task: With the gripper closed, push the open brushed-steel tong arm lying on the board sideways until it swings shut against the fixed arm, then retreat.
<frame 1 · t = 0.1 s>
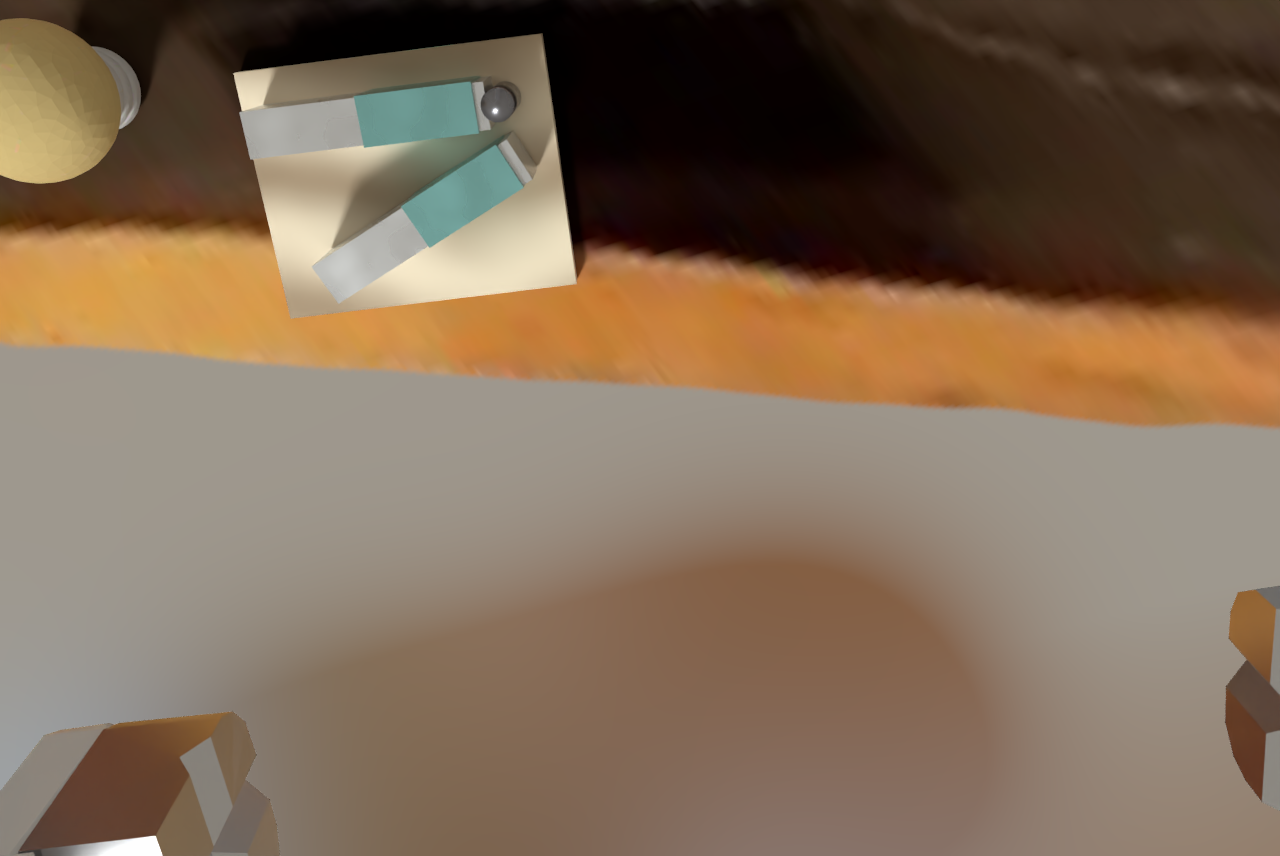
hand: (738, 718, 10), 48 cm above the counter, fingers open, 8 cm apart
tongs fixed arm: (505, 97, 53), resting on board
tong arm: (426, 216, 53), point 3 cm above the counter, hinge at 25.0°
light bulb: (106, 88, 54), on the counter
board: (414, 178, 55), on the counter
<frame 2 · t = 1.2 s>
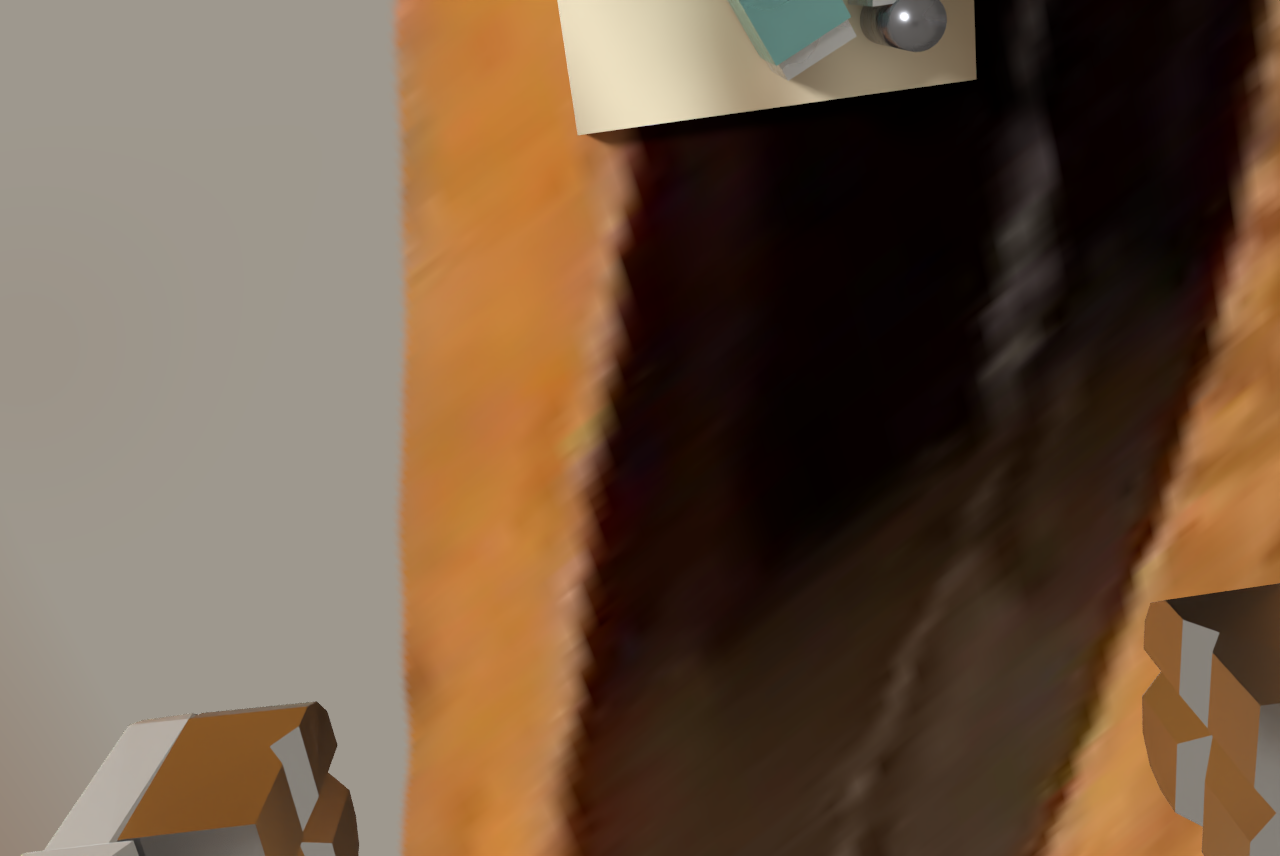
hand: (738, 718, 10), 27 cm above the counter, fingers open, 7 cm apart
tongs fixed arm: (884, 18, 33), resting on board
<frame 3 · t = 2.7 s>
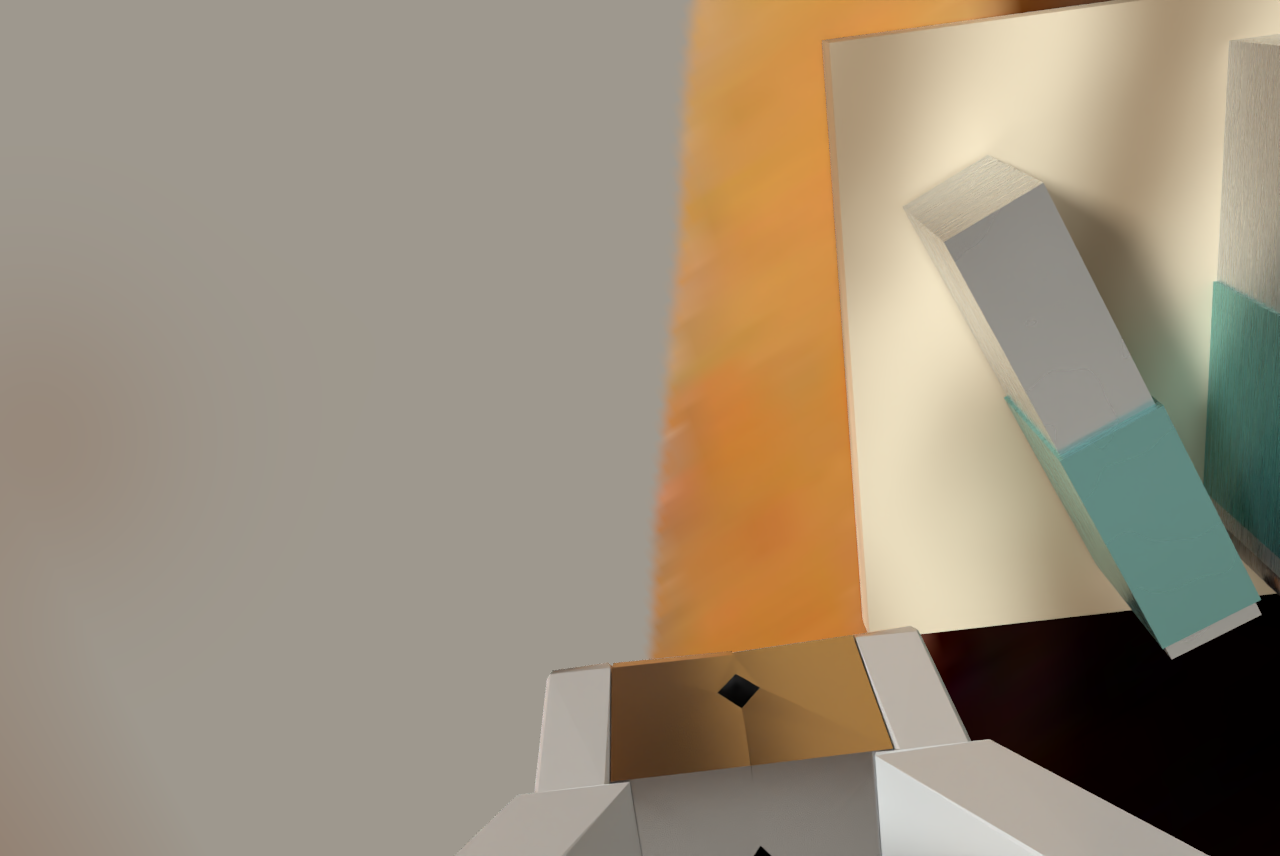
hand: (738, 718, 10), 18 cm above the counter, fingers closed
tongs fixed arm: (1247, 523, 27), resting on board
tong arm: (1082, 410, 24), point 3 cm above the counter, hinge at 25.0°
board: (1094, 325, 27), on the counter
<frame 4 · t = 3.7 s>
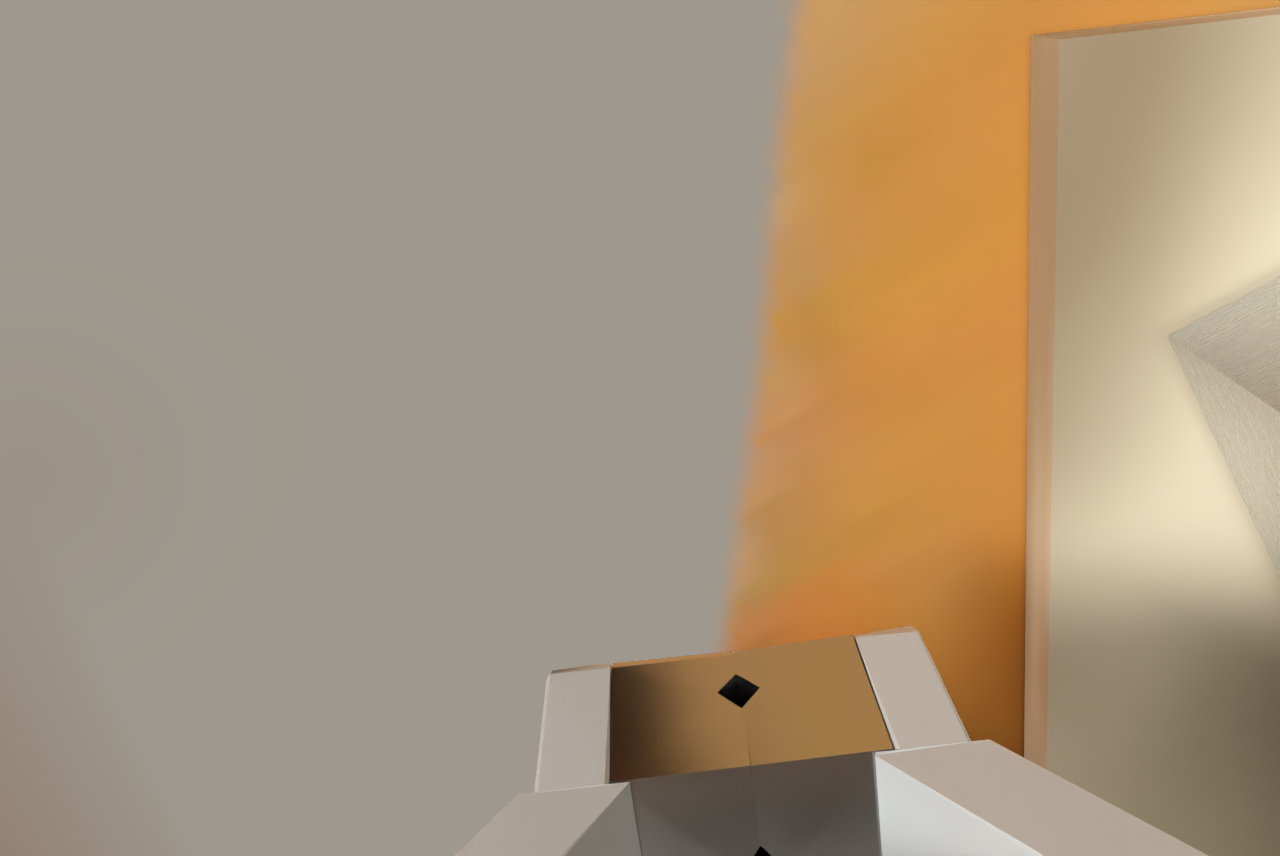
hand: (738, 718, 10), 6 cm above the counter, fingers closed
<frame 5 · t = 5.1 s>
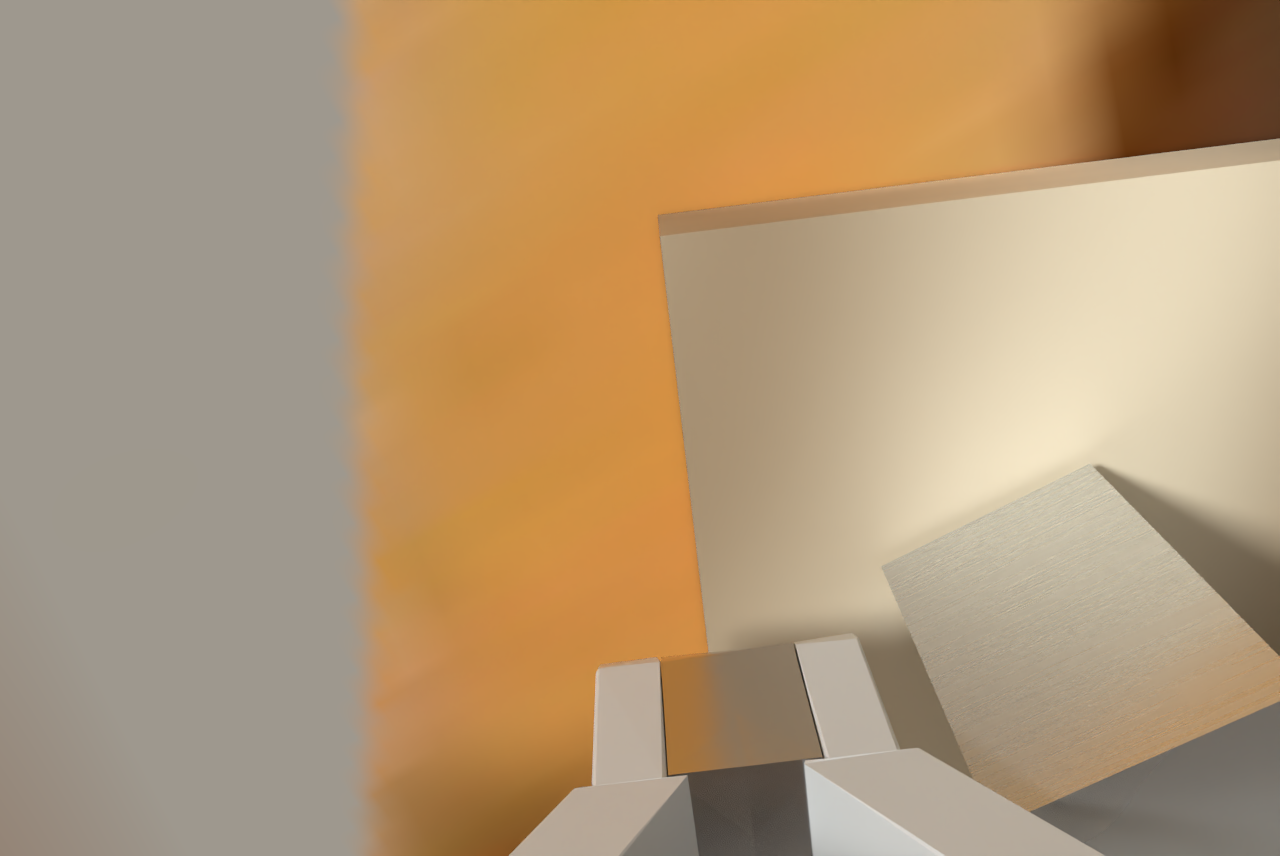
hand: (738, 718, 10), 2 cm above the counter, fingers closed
board: (1258, 791, 13), on the counter
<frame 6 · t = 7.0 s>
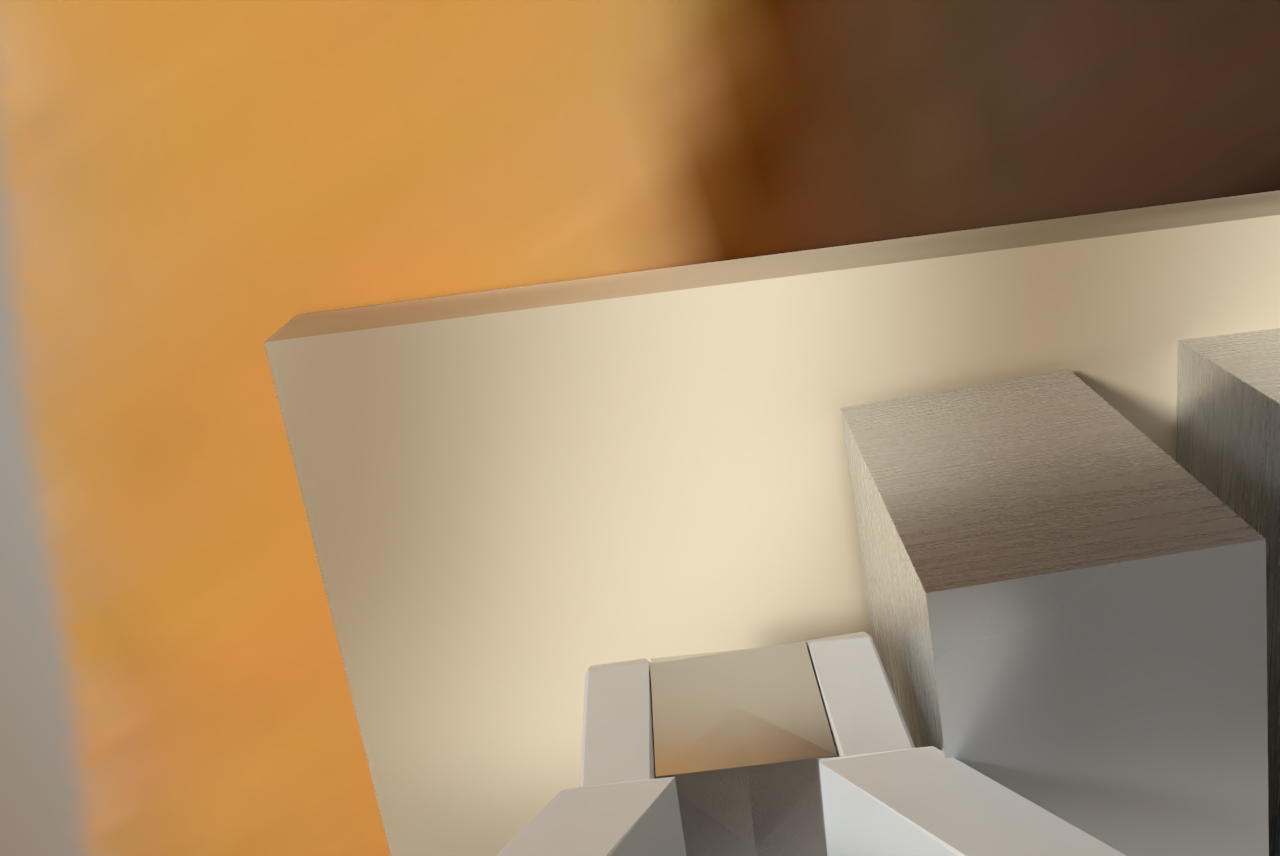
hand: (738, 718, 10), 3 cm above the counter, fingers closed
board: (928, 846, 13), on the counter
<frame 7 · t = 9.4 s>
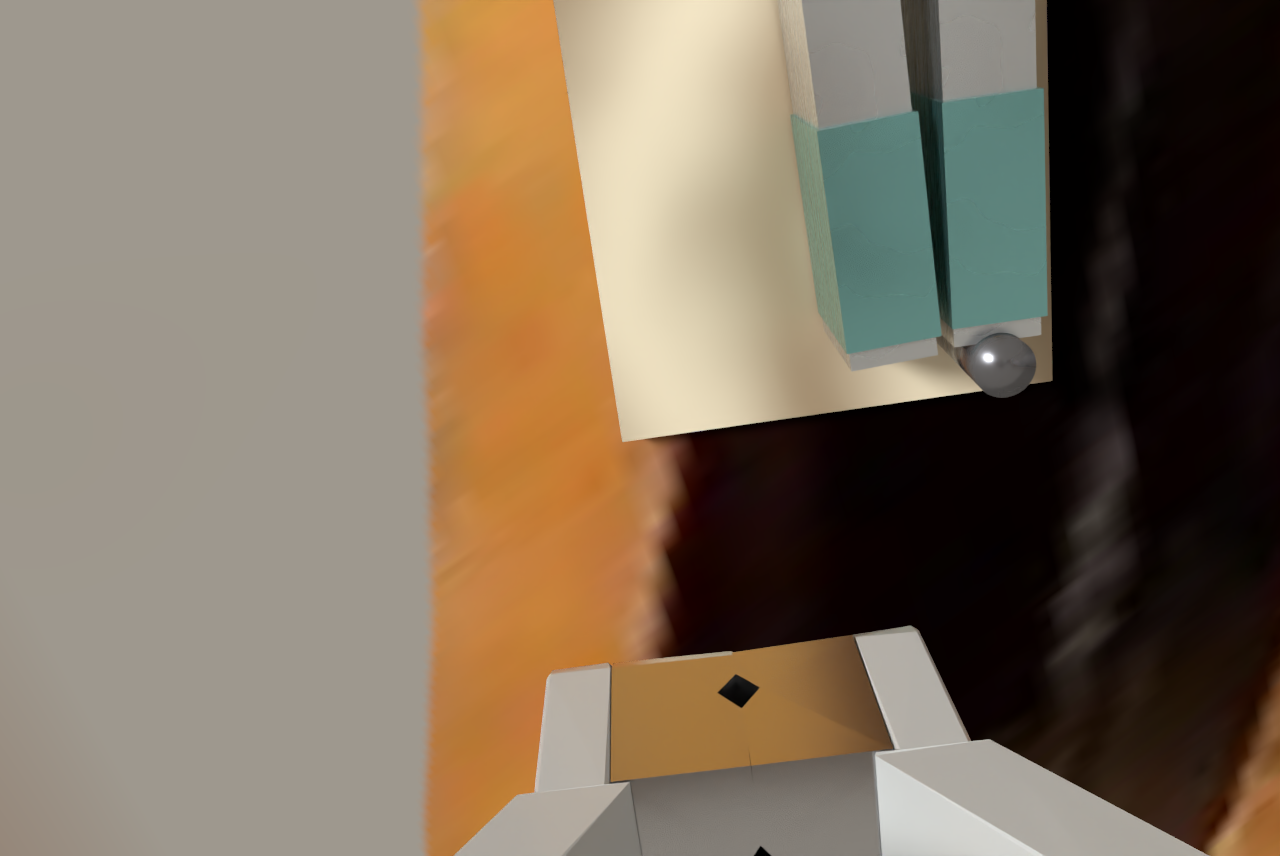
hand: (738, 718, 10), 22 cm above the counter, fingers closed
tongs fixed arm: (955, 321, 30), resting on board
tong arm: (851, 124, 26), point 3 cm above the counter, hinge at 3.0°
board: (807, 140, 29), on the counter
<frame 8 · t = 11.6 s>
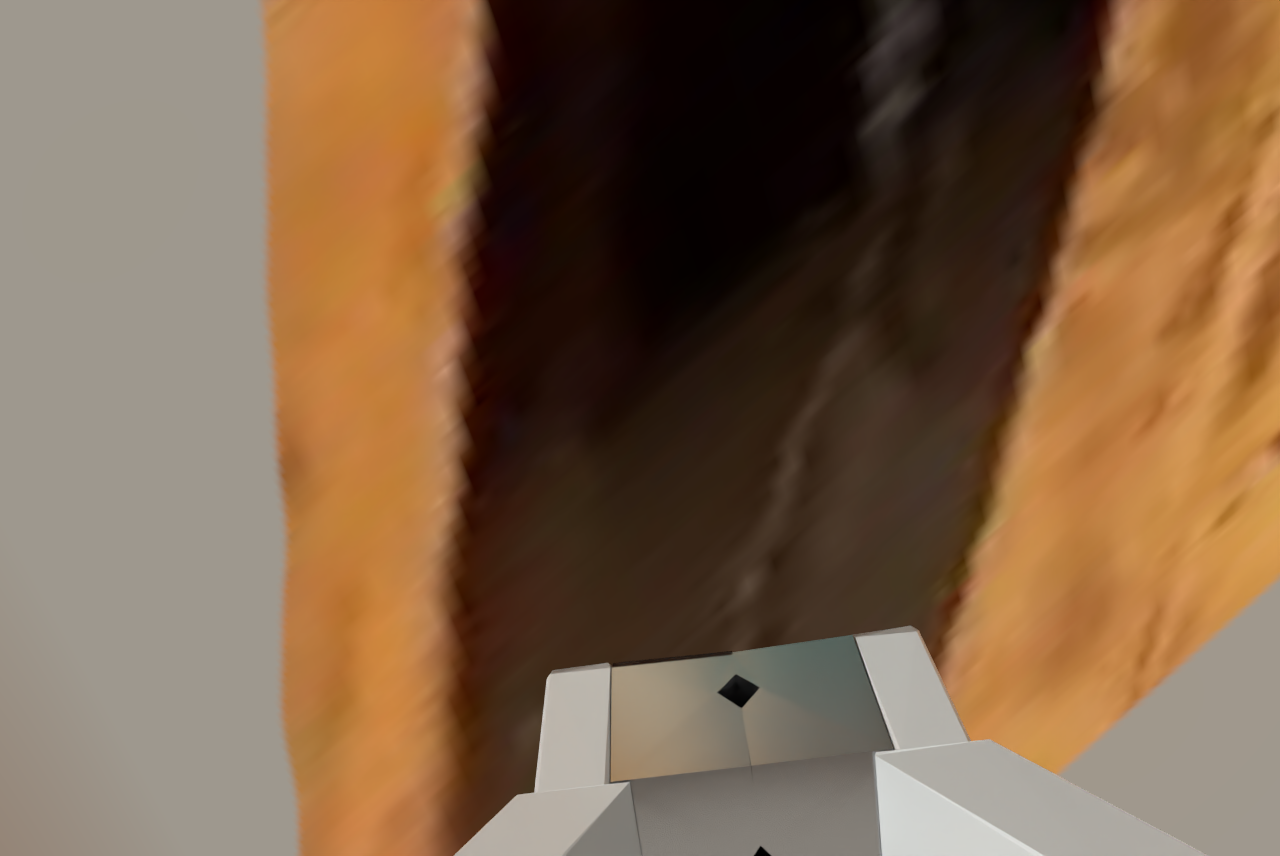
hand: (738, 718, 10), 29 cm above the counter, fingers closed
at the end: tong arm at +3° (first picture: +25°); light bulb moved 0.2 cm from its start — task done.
